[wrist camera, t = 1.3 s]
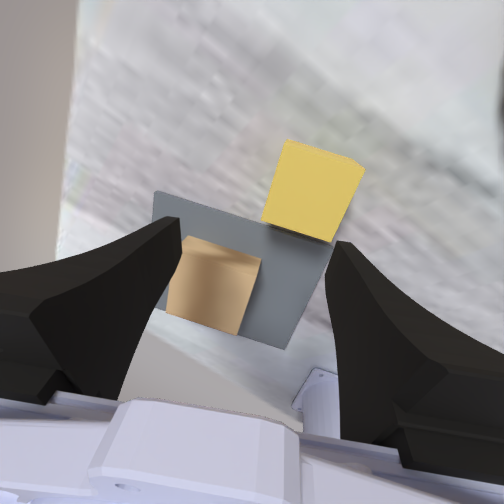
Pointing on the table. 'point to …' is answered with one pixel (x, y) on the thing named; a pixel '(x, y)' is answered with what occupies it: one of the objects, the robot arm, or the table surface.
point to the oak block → (212, 285)
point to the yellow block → (311, 190)
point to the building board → (270, 270)
